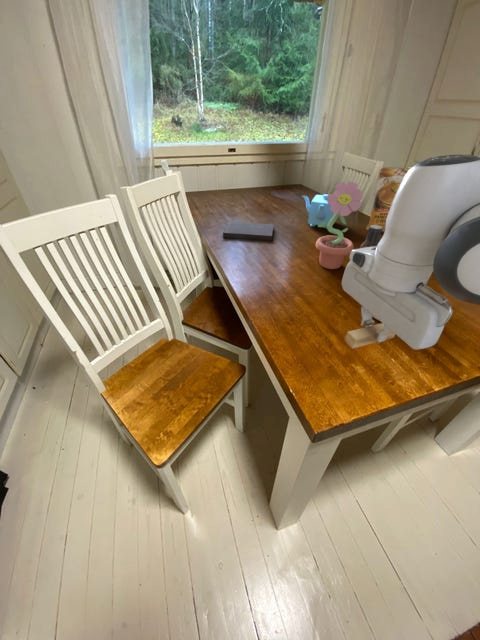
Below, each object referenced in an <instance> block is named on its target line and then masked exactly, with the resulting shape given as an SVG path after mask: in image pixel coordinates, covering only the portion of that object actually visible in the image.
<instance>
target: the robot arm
mask: <svg viewBox="0 0 480 640" xmlns="http://www.w3.org/2000/svg"><path fill="white" fill-rule="evenodd" d="M410 168H411V169H410V170H409V171H408V172H407V173H406V175H405V177H404V178H403V180H402V182H401V184H400V186H399V188H398V190H397V193H396V195H395V197H394V200H393V202H392V205H391V207H390V210H389V213H388V216H387V219H386V227H385V232H383V235H382V237H381V239H379V243H378V245H377V246H373V247H365V248H360V247H359V248H355V249H353V250H352V251H351V253H349V262H348V263H347V264H346V267H345V269H344V272H343V276H342V279H341V288H342V291H344V292H345V293H347V294H348V296H350V297H351V298H352V299H353V300H354V301H356V302H357V303H358V304H359V305H361V308H360V311H361V313H360V314H361V322H360V326H361V328H365V327H369V326H373V325H375V322H376V321H375V320H374V319H373V316H372V315H374V316H375V317H376V318H377V319H378V320H377V319H376V320H377V321H379V322H380V323H383V324H384V326H383V328H384V329H385V330H384V329H381V330H377V331H375V335H374V338H375V339H376V340H377V341H378V342H377V343H382V342H385V341H387V340H388V339H387V337H388V334H391V333H393V332H394V333H395V336H396V337H398V338H399V339H400V340H402V341H403V342H405V344H407V345H408V346H409V347H410V348H411V349H412V350H424V349H428V348H432V347H433V346H435V345H436V344H437V342H438V341H439V340H440V337H441V336H442V333H443V331H444V328H445V326H446V324H447V323H448V322H449V320H450V319H451V317H452V315H453V309H452V306H451V304H450V303H449V299H448V298H447V297H446V296H444V295H443V294H440V293H438V292H437V291H435V290H434V289H433V288H431V287H430V286H428V285H427V284H428V282H429V280H430V278H431V276H432V274H434V277H435V279H436V281H437V283H438V285H439V286H440V287H441V288H442V290H444V292H446V293H448V294H449V295H450V296H452V297H453V298H456V299H458V300H460V301H462V302H465V303H469V304H472V305H478V306H480V157H479V156H476V155H473V154H447V155H438V156H434V157H428V158H426V159H423V160H421V161H419V162H418V163H416V164H415V165H413V166H412V167H410ZM386 339H387V340H386Z"/></svg>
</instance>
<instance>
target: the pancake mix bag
mask: <svg viewBox="0 0 480 640" xmlns="http://www.w3.org/2000/svg"><path fill="white" fill-rule="evenodd" d="M411 168H412V167H408V168H407V167H382V168H380V169H379V171H378V172H379V173H378V175H377V179H376V186H375V191H374V196H373V205H372V207H371V212H370V218H369V222H368V224H367V226H366V229H365V230H366V231H368V229H369V226H371V225H377V226H381V227H382V228H383V229H382V232H381V233H384V232H385V227H386V219H387V216H388V213H389V210H390V207H391V205H392V202H393V200H394V197H395V195H396V193H397V190H398V188H399V186H400V184H401V182H402V180H403V178H404V177H405V175H406V173H407V172H408V171H409V170H410V169H411Z"/></svg>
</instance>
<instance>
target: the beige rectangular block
mask: <svg viewBox="0 0 480 640" xmlns="http://www.w3.org/2000/svg"><path fill="white" fill-rule="evenodd" d="M383 326H384V324H383V323H382V322H380V323H377V324H373V326H369V327H365V328H363V327H361V328H357V329H353V330H349V331H347V333H346V335H345V338H344V342H345V343H346V344H347V346H349V347H350V348H351V349H356V348H360V347H364V346H367V345H371V344H375V343H379V342H378V341H377V340H376V339H375V338H374V335H375V331H377V330H381V329H384V328H383ZM384 330H385V329H384ZM395 336H396V334H395V333H394V332H393V333H391V334H388V337H387V339H386V340H385V341H387V340H390V339H391V340H392V339H393V338H395Z"/></svg>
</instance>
